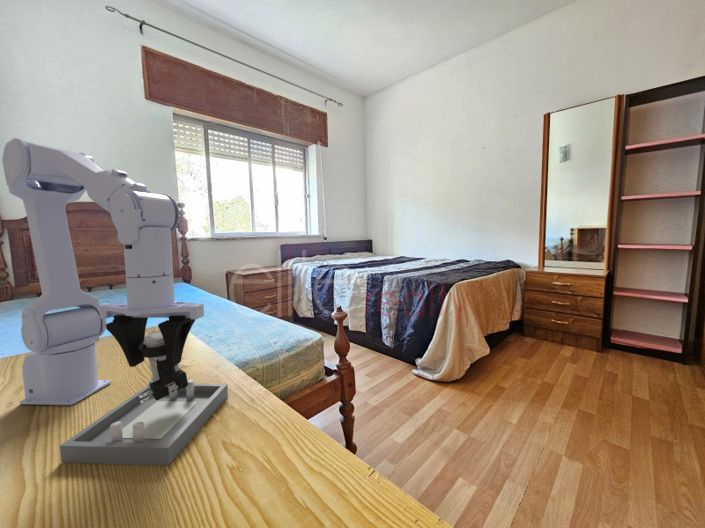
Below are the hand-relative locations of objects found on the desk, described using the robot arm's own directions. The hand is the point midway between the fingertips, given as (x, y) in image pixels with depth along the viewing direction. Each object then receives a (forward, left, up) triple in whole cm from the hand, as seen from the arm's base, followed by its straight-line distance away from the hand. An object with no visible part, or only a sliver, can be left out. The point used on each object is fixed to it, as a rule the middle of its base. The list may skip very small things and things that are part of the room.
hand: (155, 364), depth 43 cm
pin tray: (0, 0, -10) cm, 10 cm away
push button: (0, +2, -6) cm, 6 cm away
